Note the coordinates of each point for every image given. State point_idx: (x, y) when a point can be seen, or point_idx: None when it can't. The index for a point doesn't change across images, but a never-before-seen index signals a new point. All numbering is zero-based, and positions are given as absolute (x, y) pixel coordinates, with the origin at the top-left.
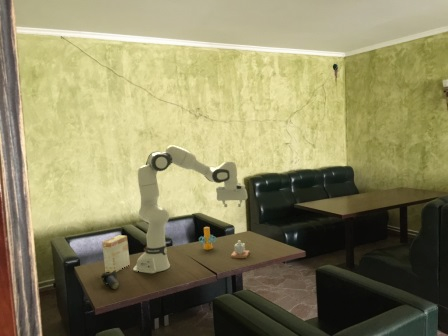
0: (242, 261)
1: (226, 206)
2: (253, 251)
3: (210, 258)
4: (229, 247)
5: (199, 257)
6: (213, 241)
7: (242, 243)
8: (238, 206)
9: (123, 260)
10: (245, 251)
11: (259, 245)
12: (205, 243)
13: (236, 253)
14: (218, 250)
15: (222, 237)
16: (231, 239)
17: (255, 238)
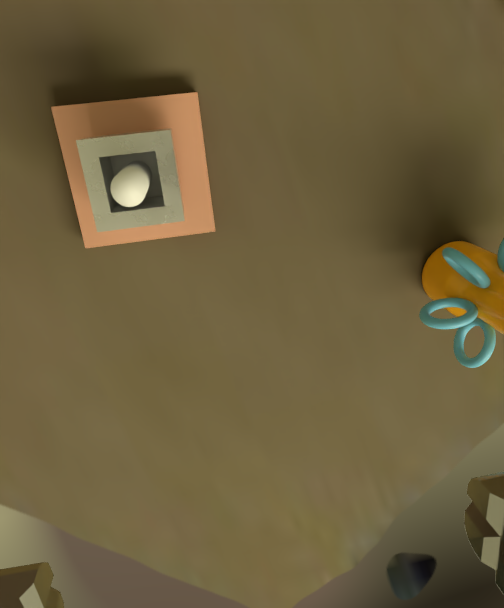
0: (49, 5)
1: (484, 491)
2: (69, 278)
3: (368, 38)
4: (297, 325)
5: (468, 48)
6: (435, 302)
7: (117, 221)
8: (28, 573)
9: None
10: None
11: (84, 412)
12: (492, 256)
13: None
14: (360, 245)
15: (410, 494)
16: (337, 475)
17: (177, 528)
